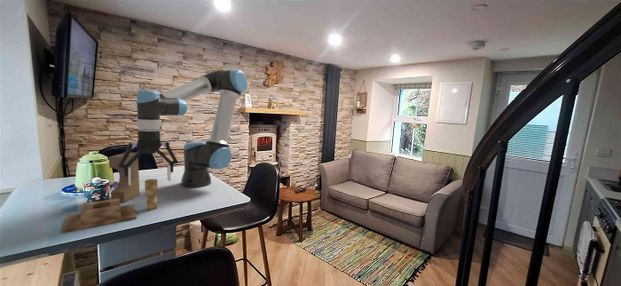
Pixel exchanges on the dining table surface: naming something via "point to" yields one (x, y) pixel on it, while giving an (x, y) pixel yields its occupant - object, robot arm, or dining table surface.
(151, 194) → the peg
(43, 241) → the dining table surface
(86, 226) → the board
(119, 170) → the decorative block
